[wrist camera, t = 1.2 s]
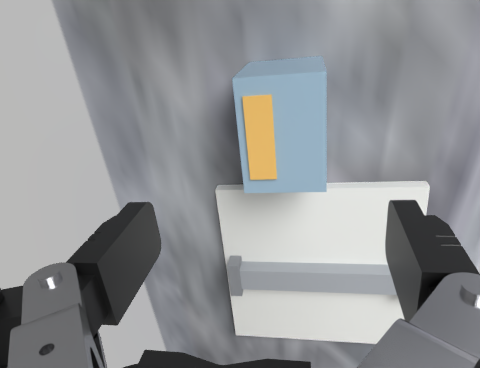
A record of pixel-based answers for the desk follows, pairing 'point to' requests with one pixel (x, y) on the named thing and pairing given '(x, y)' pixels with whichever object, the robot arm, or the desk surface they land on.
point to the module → (282, 125)
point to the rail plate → (312, 260)
